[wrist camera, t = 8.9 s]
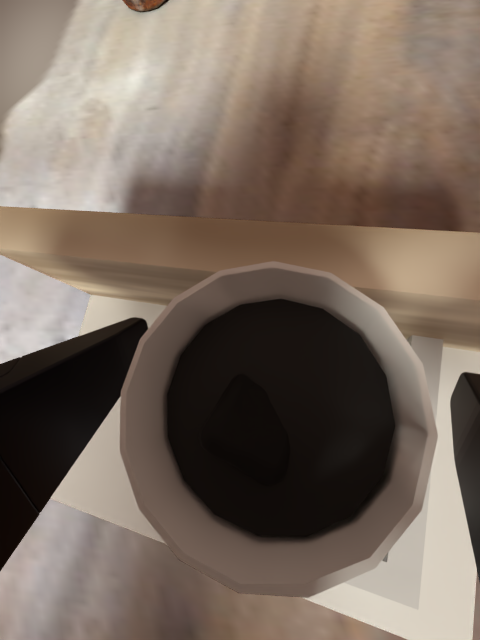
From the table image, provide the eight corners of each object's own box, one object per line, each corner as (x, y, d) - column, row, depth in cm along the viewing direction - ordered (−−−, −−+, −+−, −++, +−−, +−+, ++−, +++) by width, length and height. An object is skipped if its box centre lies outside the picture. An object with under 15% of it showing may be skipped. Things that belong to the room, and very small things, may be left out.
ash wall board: (472, 359, 16) (621, 315, 8) (110, 303, 23) (-17, 246, 15) (475, 320, 17) (620, 240, 8) (118, 276, 23) (-2, 206, 15)
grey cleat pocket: (452, 629, 14) (488, 697, 11) (58, 483, 21) (8, 498, 18) (472, 359, 16) (508, 348, 13) (110, 303, 23) (73, 286, 20)
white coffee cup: (332, 508, 15) (335, 694, 5) (212, 428, 17) (68, 464, 8) (396, 377, 15) (501, 341, 6) (272, 316, 18) (206, 222, 8)
